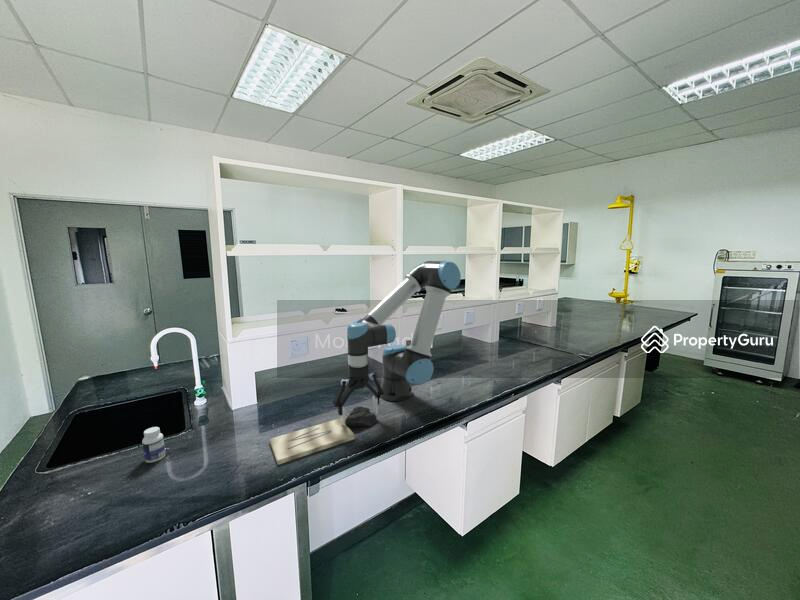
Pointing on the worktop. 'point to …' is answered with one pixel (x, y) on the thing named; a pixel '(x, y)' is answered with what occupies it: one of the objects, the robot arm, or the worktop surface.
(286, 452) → the board
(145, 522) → the worktop surface
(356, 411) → the rock
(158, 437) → the pill bottle
